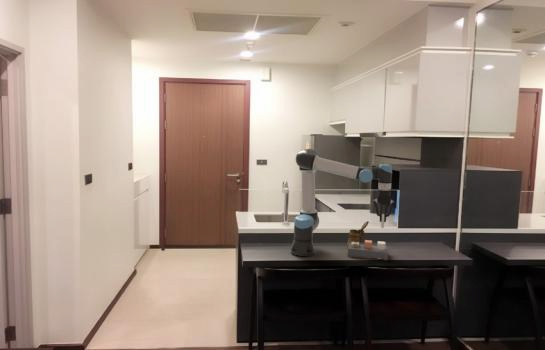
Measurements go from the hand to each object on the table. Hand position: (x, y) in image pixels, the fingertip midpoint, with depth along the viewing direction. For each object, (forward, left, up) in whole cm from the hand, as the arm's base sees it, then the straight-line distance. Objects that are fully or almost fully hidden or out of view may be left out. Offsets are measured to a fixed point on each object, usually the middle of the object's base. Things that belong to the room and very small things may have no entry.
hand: (382, 227), depth 249 cm
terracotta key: (-8, 0, -15) cm, 17 cm away
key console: (-8, 0, -19) cm, 20 cm away
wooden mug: (-15, +15, -19) cm, 29 cm away
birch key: (-16, 0, -17) cm, 23 cm away
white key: (0, 0, -15) cm, 15 cm away
